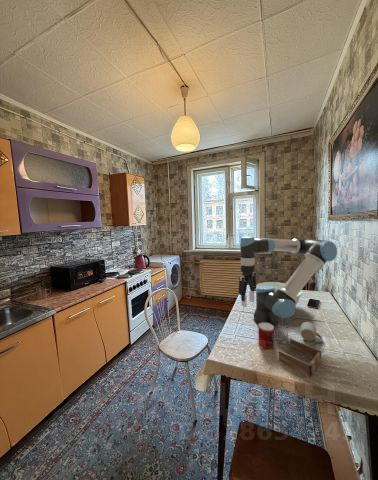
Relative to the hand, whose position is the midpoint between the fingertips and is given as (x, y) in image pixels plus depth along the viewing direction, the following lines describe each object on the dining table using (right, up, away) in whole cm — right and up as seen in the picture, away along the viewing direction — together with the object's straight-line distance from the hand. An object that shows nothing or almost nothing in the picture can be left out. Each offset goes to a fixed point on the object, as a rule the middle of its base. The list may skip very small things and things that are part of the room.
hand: (247, 303), depth 116 cm
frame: (+19, -22, -19) cm, 34 cm away
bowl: (+33, -15, +38) cm, 52 cm away
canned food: (+8, -21, -6) cm, 23 cm away
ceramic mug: (+35, -19, -1) cm, 40 cm away
